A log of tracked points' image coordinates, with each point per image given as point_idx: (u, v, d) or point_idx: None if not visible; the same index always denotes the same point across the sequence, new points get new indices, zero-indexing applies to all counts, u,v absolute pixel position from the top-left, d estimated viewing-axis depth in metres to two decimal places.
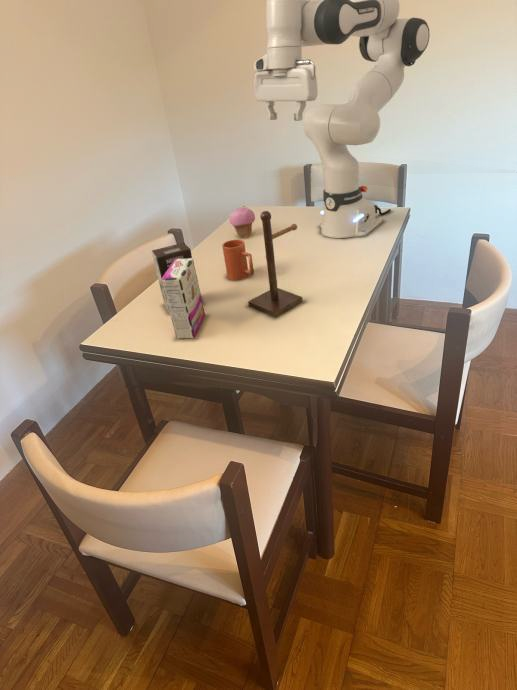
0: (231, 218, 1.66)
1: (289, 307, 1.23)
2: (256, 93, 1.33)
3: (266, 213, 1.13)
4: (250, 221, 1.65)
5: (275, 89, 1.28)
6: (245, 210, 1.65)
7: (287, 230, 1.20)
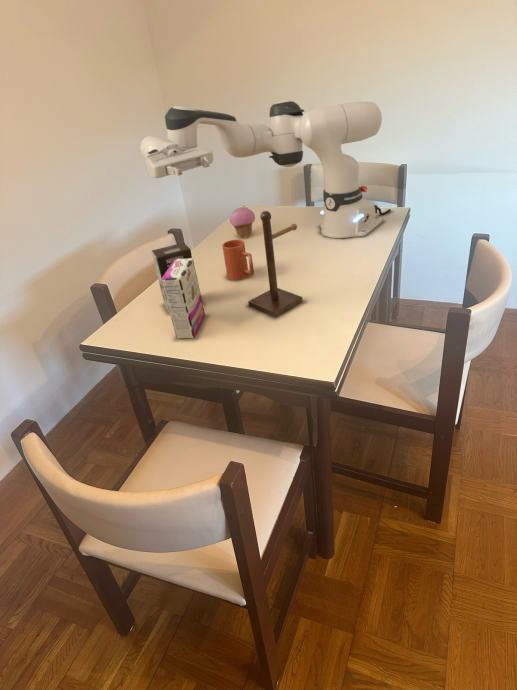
0: (231, 218, 1.66)
1: (289, 307, 1.23)
2: (154, 163, 1.41)
3: (266, 213, 1.13)
4: (250, 221, 1.65)
5: (175, 157, 1.44)
6: (245, 210, 1.65)
7: (287, 230, 1.20)
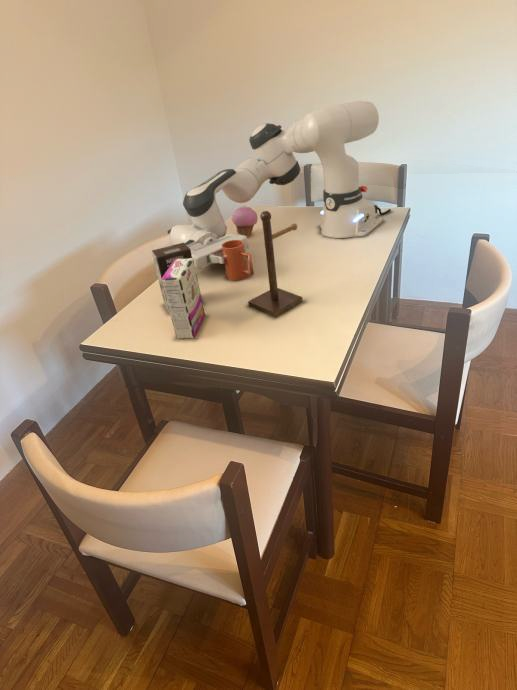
0: (235, 218, 1.64)
1: (289, 307, 1.23)
2: (194, 255, 1.39)
3: (266, 213, 1.13)
4: (254, 223, 1.65)
5: (213, 246, 1.43)
6: (249, 211, 1.64)
7: (287, 230, 1.20)
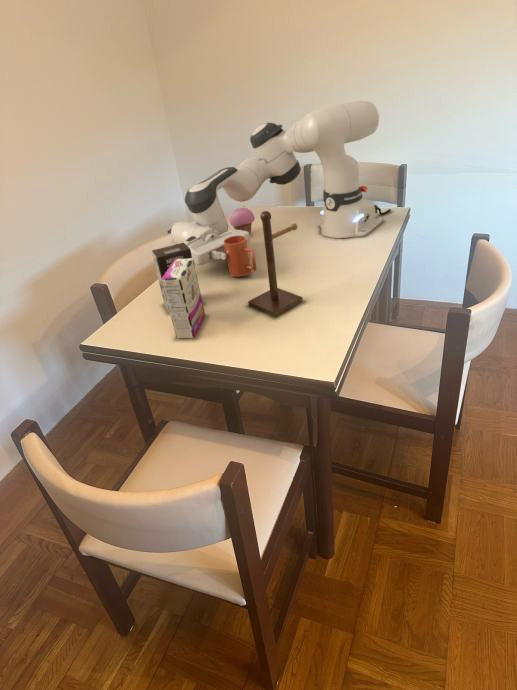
0: (231, 219, 1.65)
1: (289, 307, 1.23)
2: (197, 251, 1.38)
3: (266, 213, 1.13)
4: (250, 220, 1.65)
5: (215, 242, 1.42)
6: (245, 210, 1.65)
7: (287, 230, 1.20)
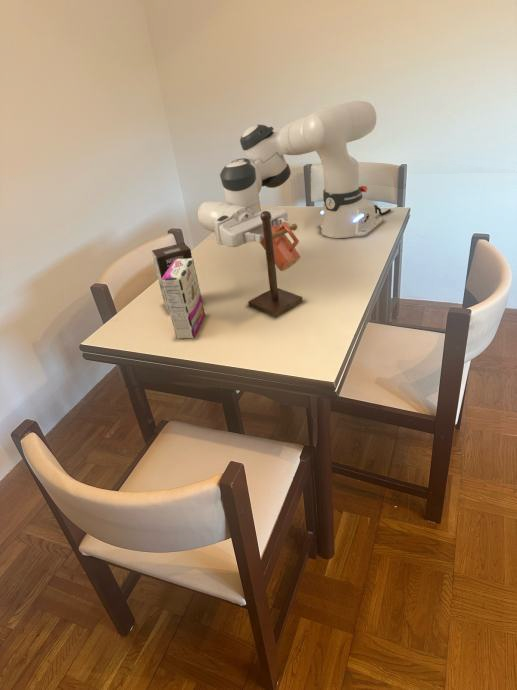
0: None
1: (289, 307, 1.23)
2: (230, 231, 1.22)
3: (266, 213, 1.13)
4: None
5: (250, 222, 1.26)
6: None
7: None
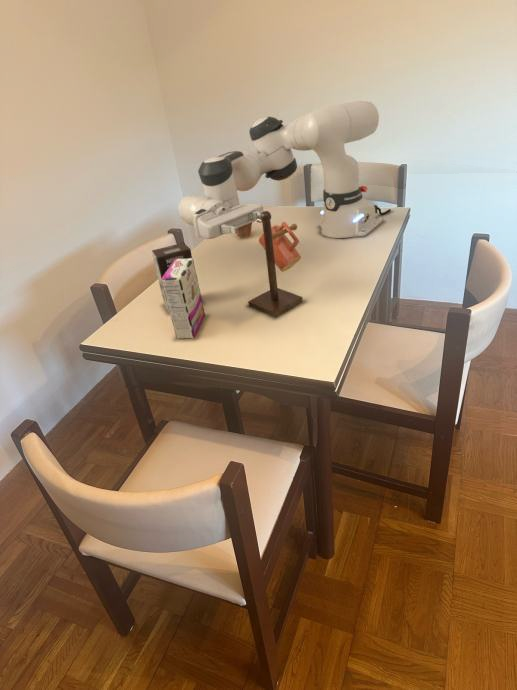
0: None
1: (289, 307, 1.23)
2: (207, 224, 1.28)
3: (266, 213, 1.13)
4: None
5: (226, 215, 1.32)
6: None
7: None
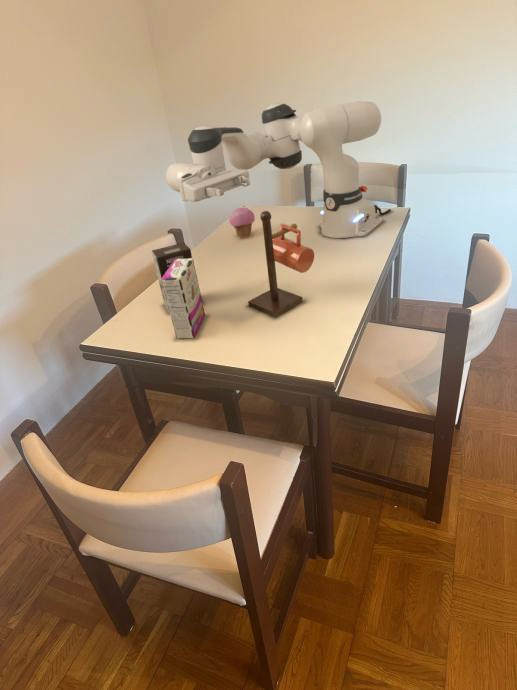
0: (231, 219, 1.65)
1: (289, 307, 1.23)
2: (192, 186, 1.29)
3: (266, 213, 1.13)
4: (251, 221, 1.65)
5: (212, 179, 1.34)
6: (245, 210, 1.65)
7: (287, 230, 1.20)
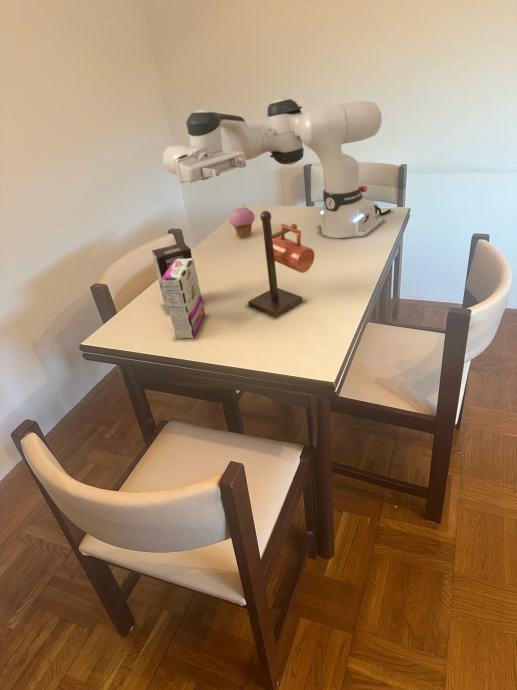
0: (231, 219, 1.65)
1: (289, 307, 1.23)
2: (188, 166, 1.29)
3: (266, 213, 1.13)
4: (251, 221, 1.65)
5: (208, 160, 1.34)
6: (245, 210, 1.65)
7: (287, 230, 1.20)
